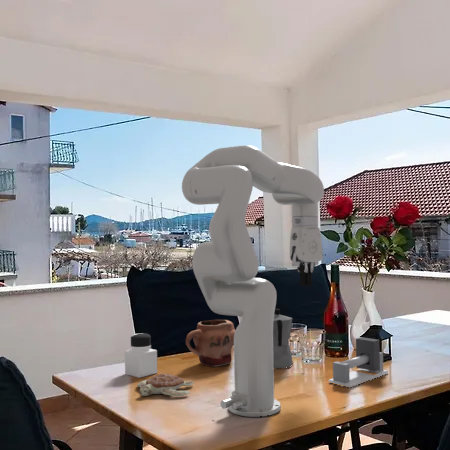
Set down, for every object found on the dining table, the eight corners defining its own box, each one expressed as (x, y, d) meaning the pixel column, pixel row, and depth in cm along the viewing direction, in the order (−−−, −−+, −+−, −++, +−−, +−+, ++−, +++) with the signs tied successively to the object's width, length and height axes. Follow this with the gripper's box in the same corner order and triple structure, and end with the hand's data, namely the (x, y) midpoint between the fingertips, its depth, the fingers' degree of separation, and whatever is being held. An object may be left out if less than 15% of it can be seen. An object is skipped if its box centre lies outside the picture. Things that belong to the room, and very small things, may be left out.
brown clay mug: (201, 374, 162) (200, 328, 162) (175, 367, 171) (175, 323, 171) (247, 362, 176) (246, 319, 176) (221, 356, 185) (220, 315, 185)
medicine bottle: (157, 373, 164) (157, 333, 164) (139, 378, 159) (138, 337, 159) (143, 369, 169) (142, 331, 169) (124, 374, 164) (124, 334, 164)
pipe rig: (350, 388, 145) (349, 365, 145) (328, 383, 150) (328, 361, 150) (387, 373, 159) (387, 352, 159) (366, 369, 164) (366, 349, 164)
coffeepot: (262, 360, 178) (261, 306, 178) (290, 360, 178) (289, 305, 178) (265, 372, 162) (264, 313, 163) (296, 372, 162) (295, 312, 162)
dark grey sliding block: (374, 371, 155) (373, 341, 155) (356, 367, 159) (355, 338, 159) (379, 369, 157) (379, 339, 157) (361, 365, 161) (361, 337, 162)
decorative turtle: (118, 393, 146) (118, 374, 146) (163, 379, 158) (163, 362, 158) (163, 407, 134) (163, 387, 134) (209, 391, 146) (208, 372, 146)
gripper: (298, 222, 149) (299, 288, 149) (331, 222, 159) (331, 285, 159) (278, 223, 154) (278, 287, 154) (310, 223, 164) (311, 283, 164)
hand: (305, 285), depth 156 cm, fingers closed
